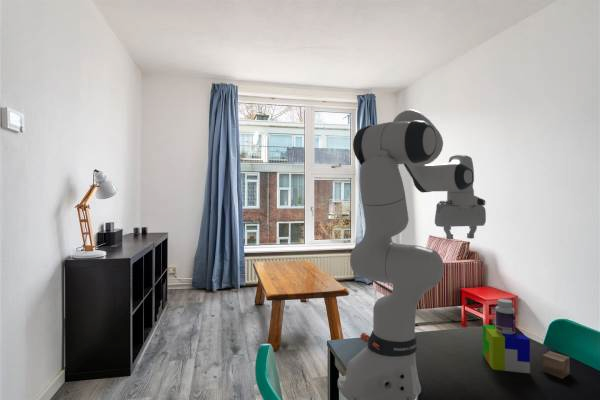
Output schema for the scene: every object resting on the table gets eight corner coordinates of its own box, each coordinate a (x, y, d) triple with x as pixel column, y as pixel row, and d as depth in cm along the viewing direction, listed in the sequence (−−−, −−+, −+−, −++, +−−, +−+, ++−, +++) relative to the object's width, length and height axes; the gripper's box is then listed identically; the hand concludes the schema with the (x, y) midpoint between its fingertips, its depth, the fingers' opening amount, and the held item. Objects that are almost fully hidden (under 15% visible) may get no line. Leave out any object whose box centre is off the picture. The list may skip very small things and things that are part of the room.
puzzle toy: (529, 373, 101) (529, 339, 101) (492, 369, 103) (492, 336, 103) (516, 358, 111) (516, 327, 111) (482, 355, 113) (482, 324, 113)
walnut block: (562, 379, 98) (562, 361, 98) (542, 371, 102) (542, 355, 102) (569, 374, 101) (569, 357, 101) (549, 367, 105) (549, 351, 105)
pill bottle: (518, 335, 104) (517, 303, 104) (498, 334, 105) (498, 302, 105) (512, 328, 109) (511, 298, 109) (493, 327, 110) (492, 297, 110)
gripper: (443, 200, 117) (443, 240, 117) (489, 200, 124) (489, 238, 124) (430, 200, 123) (430, 238, 123) (475, 200, 130) (475, 237, 130)
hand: (460, 238), depth 124 cm, fingers open, 8 cm apart
